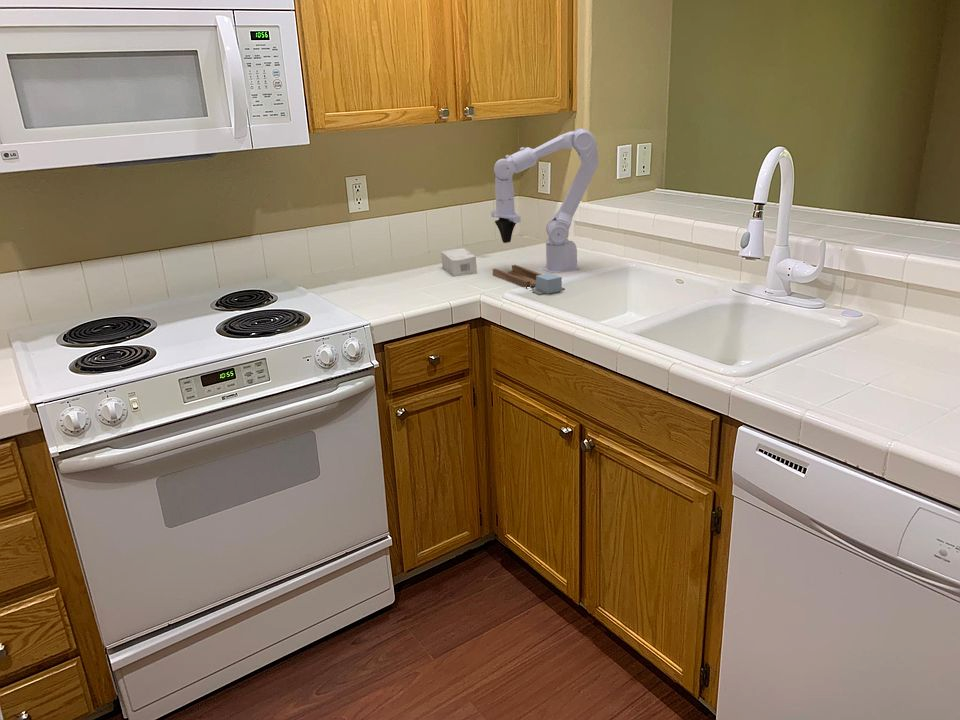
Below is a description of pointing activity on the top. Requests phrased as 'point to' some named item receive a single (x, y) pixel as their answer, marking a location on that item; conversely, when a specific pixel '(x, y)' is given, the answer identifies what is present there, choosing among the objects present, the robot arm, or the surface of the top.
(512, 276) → the chute
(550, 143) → the robot arm
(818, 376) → the top surface
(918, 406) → the top surface
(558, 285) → the block
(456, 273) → the skincare box
